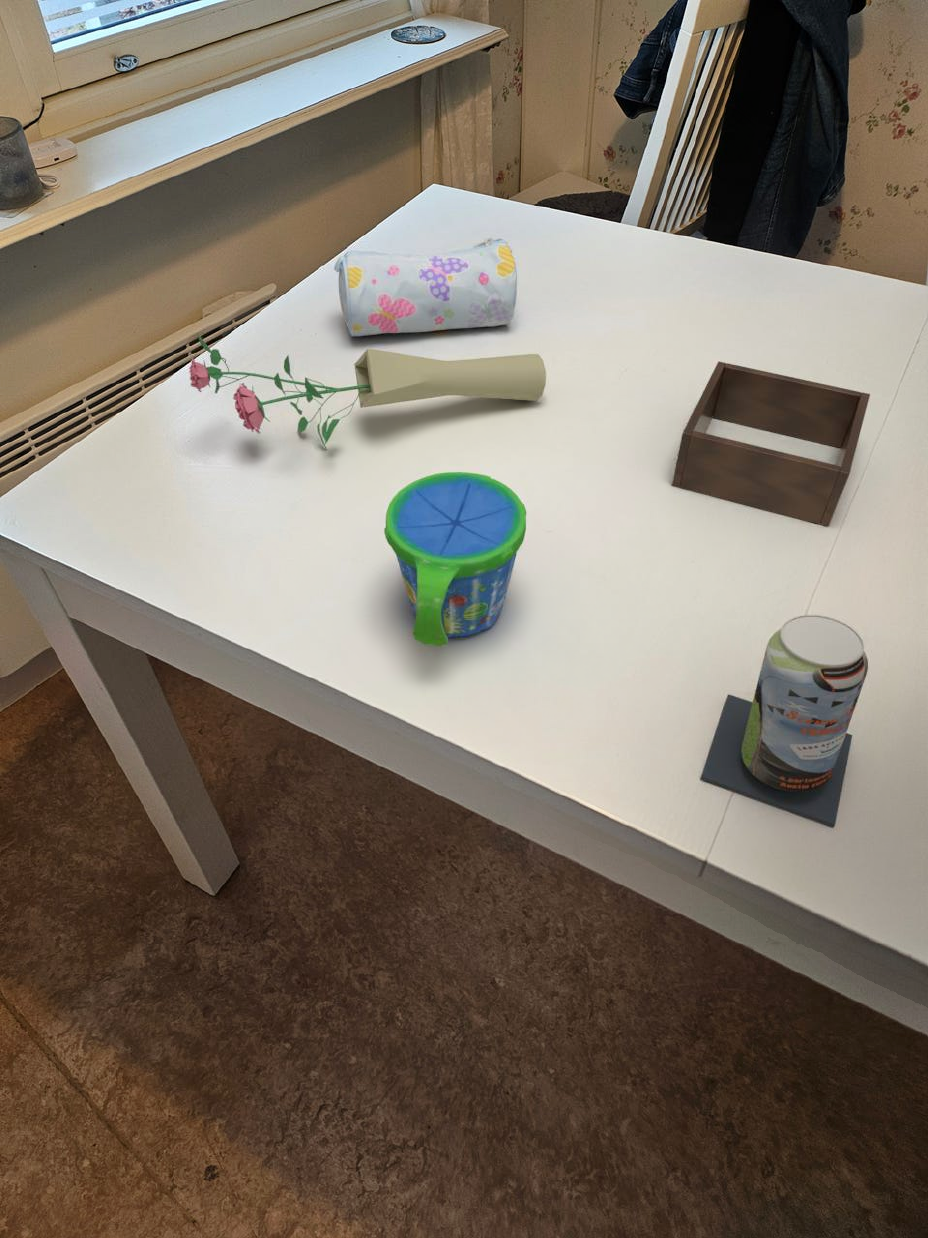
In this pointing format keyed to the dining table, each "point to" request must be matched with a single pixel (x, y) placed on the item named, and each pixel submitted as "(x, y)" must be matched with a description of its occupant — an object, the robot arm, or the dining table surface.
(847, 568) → the dining table surface
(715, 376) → the open wooden box
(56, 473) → the dining table surface
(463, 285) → the pencil case
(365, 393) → the flower vase
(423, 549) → the snack cup
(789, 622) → the beverage can
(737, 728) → the mat
